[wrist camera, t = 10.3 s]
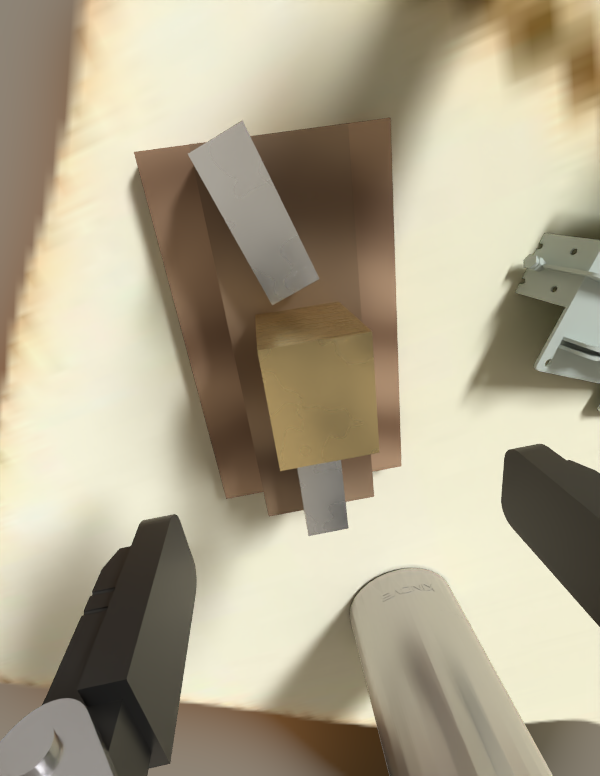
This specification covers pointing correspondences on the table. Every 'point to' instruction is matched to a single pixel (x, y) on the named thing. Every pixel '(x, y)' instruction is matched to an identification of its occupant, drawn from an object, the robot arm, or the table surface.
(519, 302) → the table surface
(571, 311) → the metal bracket
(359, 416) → the natural wood cube
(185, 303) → the base
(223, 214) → the grey bar
